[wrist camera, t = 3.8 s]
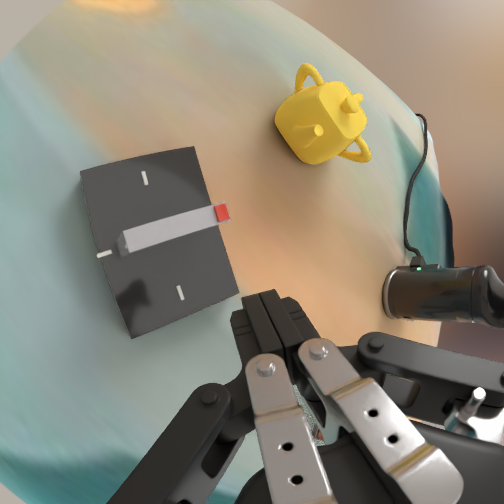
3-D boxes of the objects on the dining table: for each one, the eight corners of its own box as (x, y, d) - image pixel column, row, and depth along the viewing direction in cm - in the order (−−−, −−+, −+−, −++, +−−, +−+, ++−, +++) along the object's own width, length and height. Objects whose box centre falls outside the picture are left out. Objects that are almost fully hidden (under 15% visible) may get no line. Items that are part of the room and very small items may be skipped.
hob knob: (121, 257, 24) (129, 252, 18) (115, 240, 24) (123, 230, 18) (203, 230, 28) (232, 219, 23) (198, 215, 28) (227, 200, 23)
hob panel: (77, 180, 24) (76, 171, 22) (188, 154, 30) (197, 144, 28) (125, 335, 26) (128, 341, 23) (231, 290, 32) (243, 291, 30)
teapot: (332, 187, 42) (388, 170, 34) (263, 161, 36) (319, 131, 27) (329, 114, 44) (376, 90, 35) (267, 82, 37) (313, 46, 29)
